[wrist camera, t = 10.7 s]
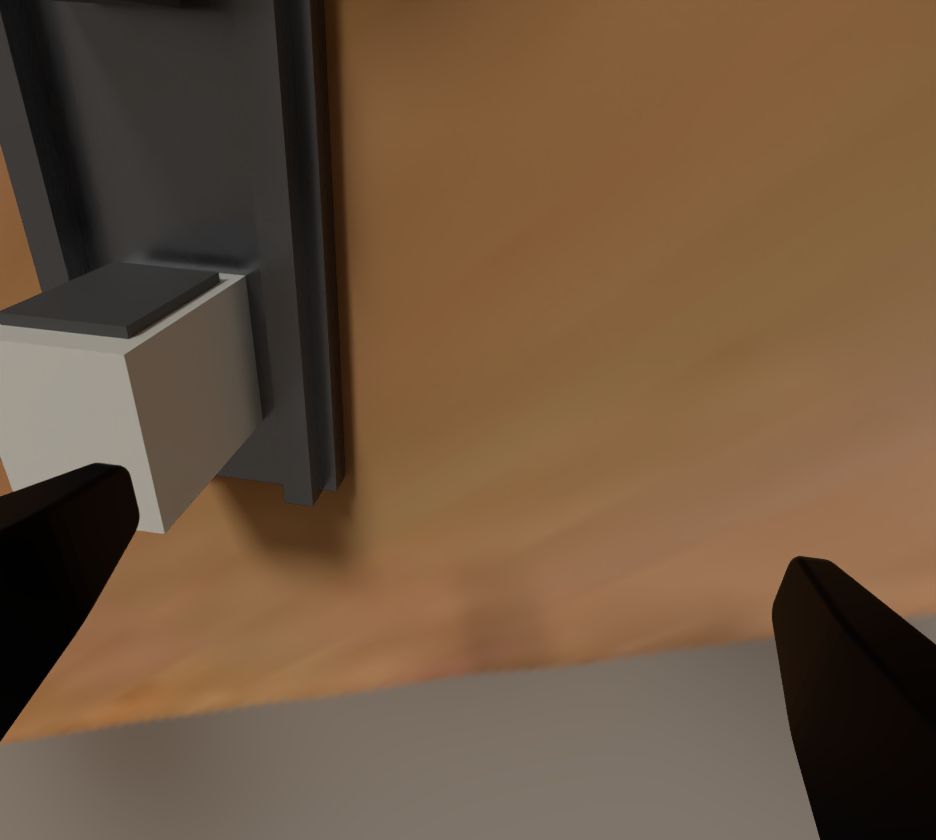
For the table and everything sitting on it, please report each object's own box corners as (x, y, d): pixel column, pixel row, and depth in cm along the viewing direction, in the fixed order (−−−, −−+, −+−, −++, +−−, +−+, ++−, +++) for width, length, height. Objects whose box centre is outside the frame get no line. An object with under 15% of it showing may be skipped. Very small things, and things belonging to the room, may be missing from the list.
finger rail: (302, -445, 13) (260, -526, 11) (345, 475, 24) (327, 508, 22) (-109, -441, 14) (-209, -515, 12) (115, 445, 24) (80, 474, 23)
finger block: (262, 420, 22) (164, 533, 16) (151, 407, 22) (21, 513, 17) (244, 265, 19) (121, 342, 14) (118, 253, 19) (-49, 322, 14)
